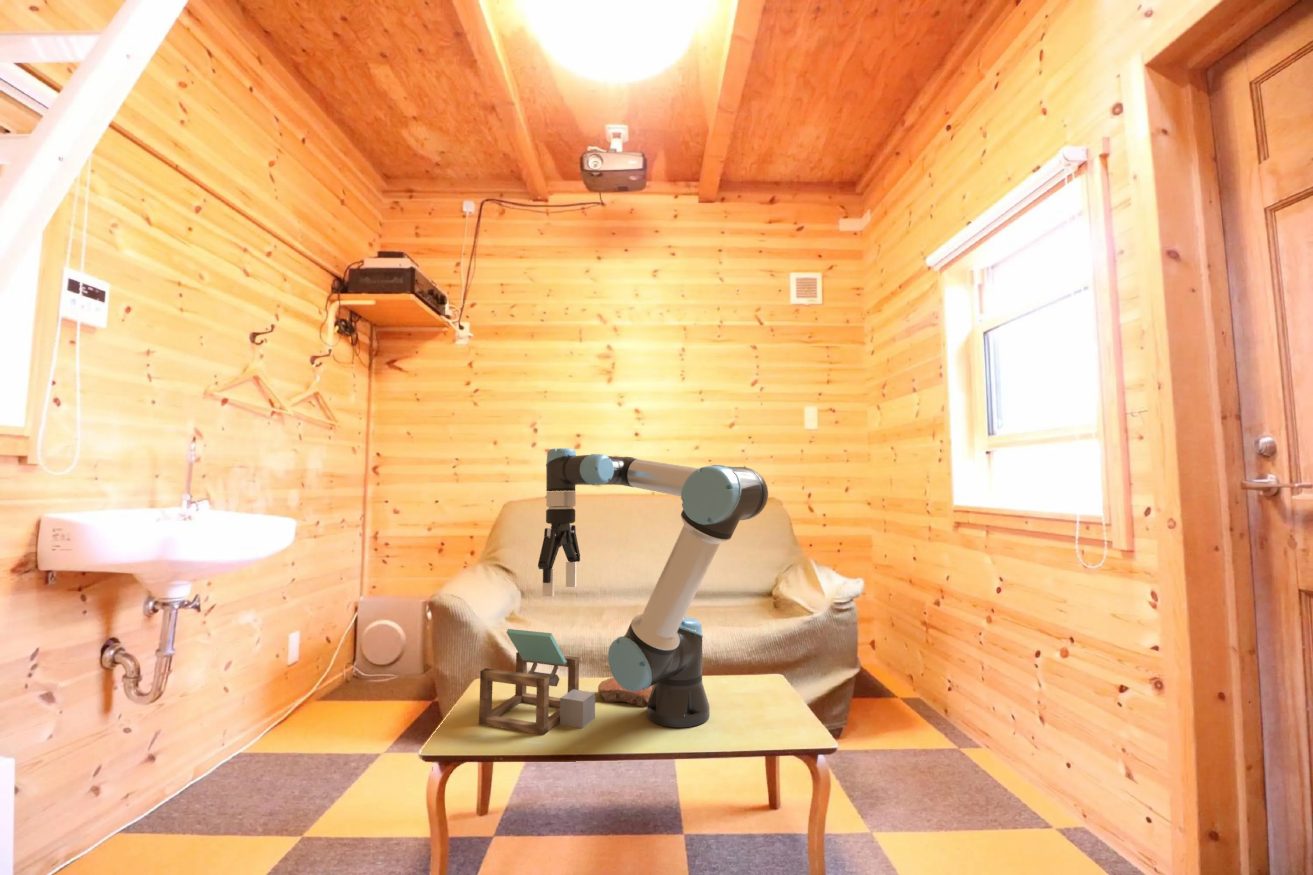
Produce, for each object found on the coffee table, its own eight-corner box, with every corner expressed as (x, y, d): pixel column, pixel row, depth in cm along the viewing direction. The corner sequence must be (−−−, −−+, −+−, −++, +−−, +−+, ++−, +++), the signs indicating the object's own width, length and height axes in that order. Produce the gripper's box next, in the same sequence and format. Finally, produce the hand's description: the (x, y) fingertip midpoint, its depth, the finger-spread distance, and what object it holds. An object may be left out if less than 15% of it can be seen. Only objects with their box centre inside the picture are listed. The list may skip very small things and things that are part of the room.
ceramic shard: (610, 663, 159) (662, 675, 156) (606, 687, 158) (657, 700, 155) (594, 673, 145) (651, 687, 142) (589, 700, 144) (646, 714, 141)
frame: (578, 706, 141) (579, 657, 142) (543, 734, 125) (544, 679, 126) (519, 697, 147) (520, 650, 148) (478, 724, 131) (480, 670, 132)
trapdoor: (564, 687, 140) (571, 668, 143) (544, 651, 131) (552, 632, 135) (520, 681, 144) (529, 663, 147) (498, 646, 135) (507, 628, 139)
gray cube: (594, 718, 134) (595, 692, 135) (582, 728, 129) (582, 701, 129) (572, 714, 137) (573, 689, 137) (559, 724, 131) (560, 697, 132)
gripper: (567, 506, 160) (567, 582, 158) (524, 509, 136) (523, 599, 134) (592, 506, 158) (592, 583, 156) (552, 509, 134) (551, 601, 132)
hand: (560, 591), depth 145 cm, fingers open, 13 cm apart
